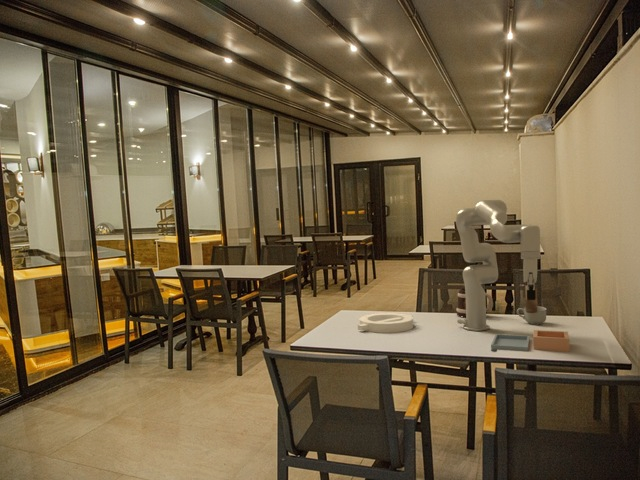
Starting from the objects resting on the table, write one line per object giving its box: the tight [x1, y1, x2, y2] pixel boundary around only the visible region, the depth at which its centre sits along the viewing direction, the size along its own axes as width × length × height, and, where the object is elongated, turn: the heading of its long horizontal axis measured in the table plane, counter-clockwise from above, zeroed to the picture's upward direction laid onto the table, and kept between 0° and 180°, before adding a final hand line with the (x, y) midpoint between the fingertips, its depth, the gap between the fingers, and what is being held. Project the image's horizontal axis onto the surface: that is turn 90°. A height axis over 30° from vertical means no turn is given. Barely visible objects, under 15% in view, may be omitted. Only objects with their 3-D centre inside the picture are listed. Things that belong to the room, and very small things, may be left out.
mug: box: [456, 287, 494, 318], centre depth 275 cm, size 20×15×15 cm
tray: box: [490, 333, 530, 352], centre depth 208 cm, size 14×20×2 cm
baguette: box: [525, 285, 538, 313], centre depth 204 cm, size 4×4×11 cm
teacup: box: [516, 305, 547, 325], centre depth 250 cm, size 14×11×8 cm
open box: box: [532, 329, 570, 352], centre depth 201 cm, size 13×13×6 cm
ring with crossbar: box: [357, 312, 414, 333], centre depth 257 cm, size 28×28×5 cm
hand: (531, 298), depth 204 cm, fingers closed on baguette, 4 cm apart
